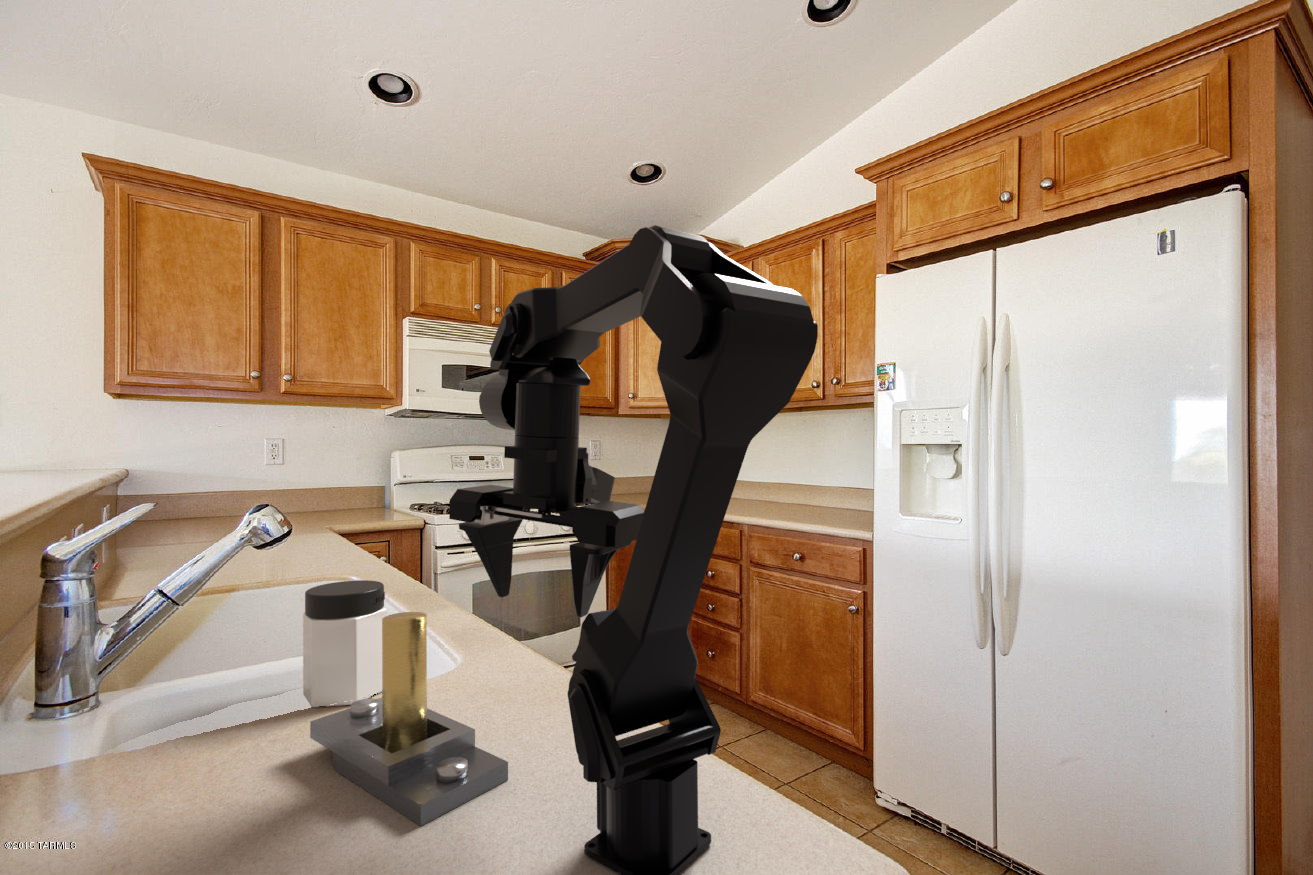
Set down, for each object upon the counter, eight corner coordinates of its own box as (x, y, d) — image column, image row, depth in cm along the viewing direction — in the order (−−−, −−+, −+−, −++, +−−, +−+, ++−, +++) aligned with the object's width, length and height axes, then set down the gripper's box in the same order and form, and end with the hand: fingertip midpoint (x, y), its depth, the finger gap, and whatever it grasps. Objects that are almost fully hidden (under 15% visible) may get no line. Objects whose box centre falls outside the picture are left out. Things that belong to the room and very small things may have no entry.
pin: (435, 758, 56) (434, 612, 56) (410, 779, 52) (409, 623, 53) (400, 754, 57) (399, 610, 57) (373, 774, 53) (372, 621, 54)
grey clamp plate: (508, 779, 52) (507, 733, 52) (420, 826, 46) (420, 773, 46) (393, 723, 63) (393, 685, 63) (310, 754, 57) (310, 712, 57)
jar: (395, 695, 71) (395, 588, 71) (314, 715, 65) (314, 600, 66) (372, 673, 78) (372, 576, 78) (298, 690, 72) (297, 586, 73)
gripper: (679, 440, 59) (672, 602, 60) (527, 428, 68) (522, 570, 69) (615, 444, 49) (607, 638, 50) (447, 430, 58) (443, 595, 59)
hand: (541, 605), depth 57 cm, fingers open, 9 cm apart
